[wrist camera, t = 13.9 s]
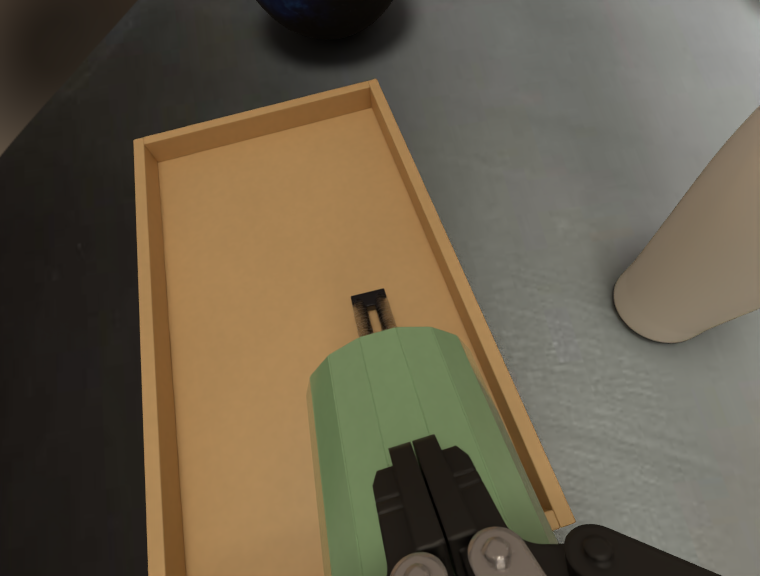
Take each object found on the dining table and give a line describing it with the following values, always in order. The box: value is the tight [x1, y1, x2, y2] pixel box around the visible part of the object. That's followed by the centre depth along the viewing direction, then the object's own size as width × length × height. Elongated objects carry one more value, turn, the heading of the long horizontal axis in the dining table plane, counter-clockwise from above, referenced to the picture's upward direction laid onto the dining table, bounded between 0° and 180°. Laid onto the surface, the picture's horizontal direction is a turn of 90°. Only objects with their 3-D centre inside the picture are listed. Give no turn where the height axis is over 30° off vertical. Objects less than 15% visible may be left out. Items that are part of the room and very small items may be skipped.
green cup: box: [306, 327, 558, 576], centre depth 16 cm, size 8×8×13 cm
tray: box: [134, 79, 576, 576], centre depth 27 cm, size 20×33×3 cm, turn 17°
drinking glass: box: [614, 106, 760, 343], centre depth 20 cm, size 7×7×15 cm
